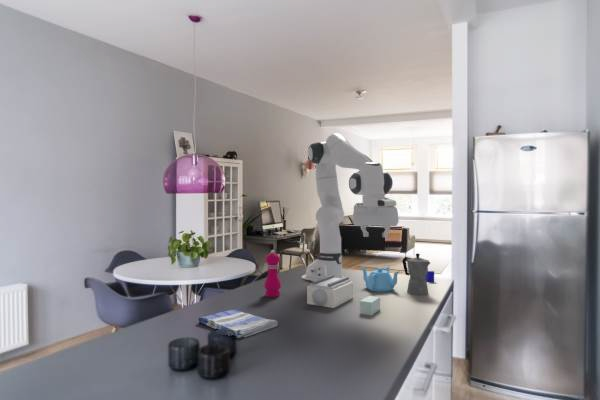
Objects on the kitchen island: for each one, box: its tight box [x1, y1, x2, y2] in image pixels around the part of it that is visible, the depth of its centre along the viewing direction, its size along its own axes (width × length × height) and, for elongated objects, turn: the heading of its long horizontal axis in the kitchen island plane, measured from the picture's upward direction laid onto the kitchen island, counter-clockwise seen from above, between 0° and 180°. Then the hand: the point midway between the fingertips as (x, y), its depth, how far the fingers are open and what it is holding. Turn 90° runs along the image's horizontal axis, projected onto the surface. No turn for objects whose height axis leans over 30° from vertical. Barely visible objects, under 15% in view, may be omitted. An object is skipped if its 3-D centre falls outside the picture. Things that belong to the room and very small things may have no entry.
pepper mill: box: [264, 249, 282, 298], centre depth 178 cm, size 7×7×20 cm
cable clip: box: [425, 268, 435, 283], centre depth 210 cm, size 12×4×6 cm, turn 0°
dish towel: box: [198, 309, 278, 339], centre depth 138 cm, size 17×24×3 cm
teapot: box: [360, 265, 401, 293], centre depth 189 cm, size 15×15×10 cm
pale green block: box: [359, 295, 381, 316], centre depth 154 cm, size 4×11×5 cm, turn 149°
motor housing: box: [306, 275, 354, 309], centre depth 170 cm, size 12×22×9 cm, turn 148°
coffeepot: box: [401, 252, 431, 296], centre depth 183 cm, size 15×9×18 cm, turn 33°
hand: (375, 236), depth 163 cm, fingers open, 8 cm apart
